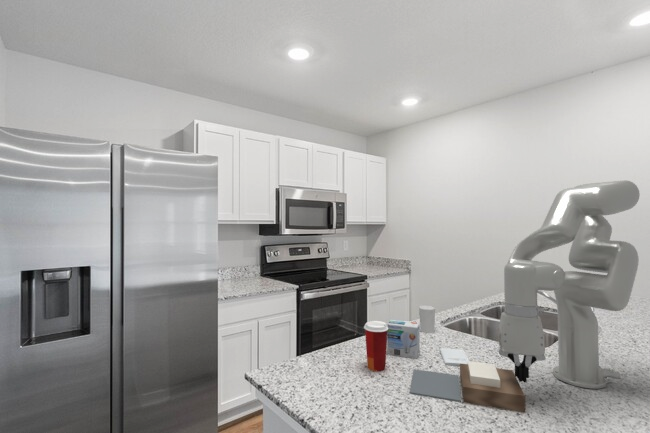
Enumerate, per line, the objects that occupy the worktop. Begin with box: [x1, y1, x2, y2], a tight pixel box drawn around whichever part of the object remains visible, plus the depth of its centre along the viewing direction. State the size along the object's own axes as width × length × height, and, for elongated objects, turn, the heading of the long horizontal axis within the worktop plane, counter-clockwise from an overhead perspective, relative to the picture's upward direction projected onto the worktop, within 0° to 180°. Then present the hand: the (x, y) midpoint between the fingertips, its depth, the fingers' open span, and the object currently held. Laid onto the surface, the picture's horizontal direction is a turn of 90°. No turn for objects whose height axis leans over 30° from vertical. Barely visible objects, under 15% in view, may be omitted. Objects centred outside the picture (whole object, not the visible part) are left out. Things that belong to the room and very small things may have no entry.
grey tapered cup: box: [418, 305, 436, 334], centre depth 142 cm, size 7×7×10 cm
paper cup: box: [363, 320, 388, 373], centre depth 106 cm, size 8×8×14 cm
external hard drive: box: [439, 347, 470, 367], centre depth 113 cm, size 2×8×12 cm
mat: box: [409, 368, 462, 403], centre depth 94 cm, size 13×15×1 cm
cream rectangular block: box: [468, 360, 500, 388], centre depth 90 cm, size 7×10×2 cm
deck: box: [459, 364, 526, 413], centre depth 90 cm, size 14×15×4 cm
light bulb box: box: [386, 318, 421, 360], centre depth 118 cm, size 11×7×11 cm, turn 68°
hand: (521, 379), depth 87 cm, fingers closed
